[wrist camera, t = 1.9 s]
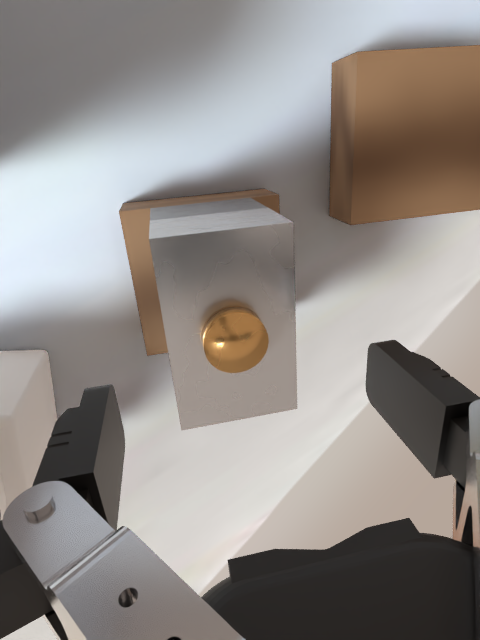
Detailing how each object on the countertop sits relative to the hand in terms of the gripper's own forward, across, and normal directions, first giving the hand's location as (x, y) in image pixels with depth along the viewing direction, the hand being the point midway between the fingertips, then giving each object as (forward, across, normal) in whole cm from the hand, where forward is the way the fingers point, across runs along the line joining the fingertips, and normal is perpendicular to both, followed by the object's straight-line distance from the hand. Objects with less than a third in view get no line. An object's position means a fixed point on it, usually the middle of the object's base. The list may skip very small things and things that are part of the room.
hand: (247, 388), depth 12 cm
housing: (+10, 0, 0) cm, 10 cm away
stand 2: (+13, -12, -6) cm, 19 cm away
